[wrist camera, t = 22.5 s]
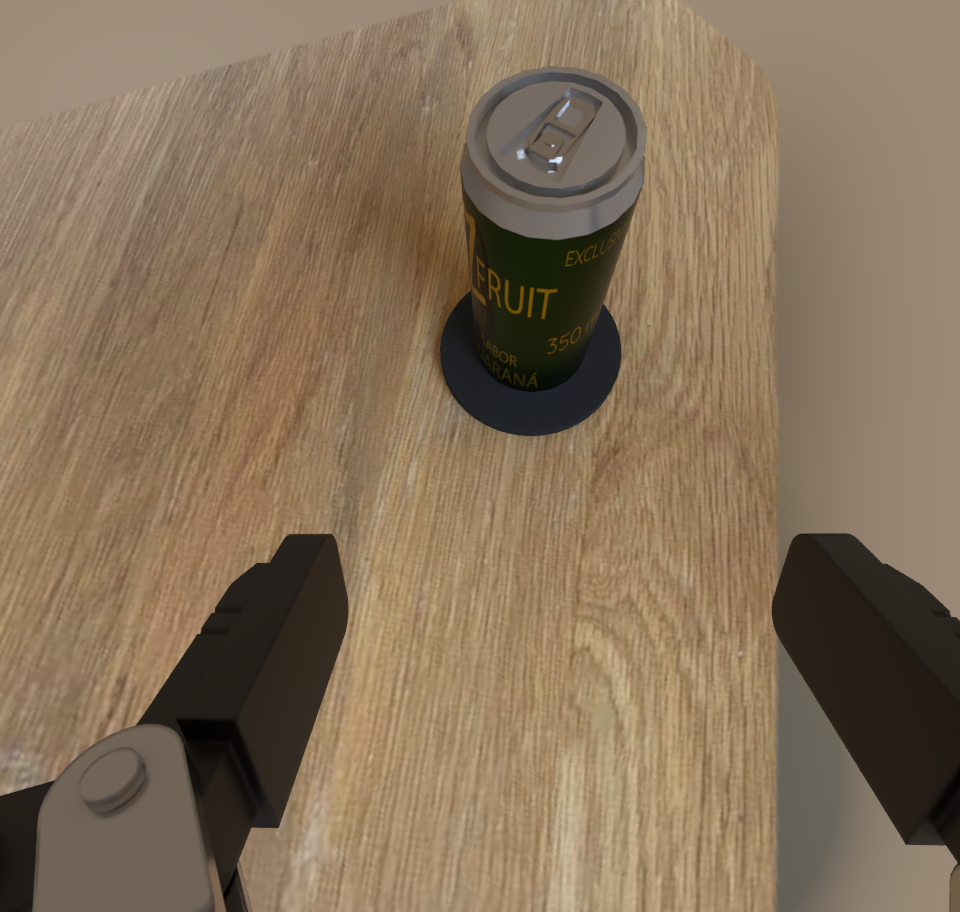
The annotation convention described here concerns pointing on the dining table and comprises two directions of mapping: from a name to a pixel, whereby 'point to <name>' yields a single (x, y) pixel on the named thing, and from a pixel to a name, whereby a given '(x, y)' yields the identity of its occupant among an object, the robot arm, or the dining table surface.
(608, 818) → the dining table surface
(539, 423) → the coaster
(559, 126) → the beer can
